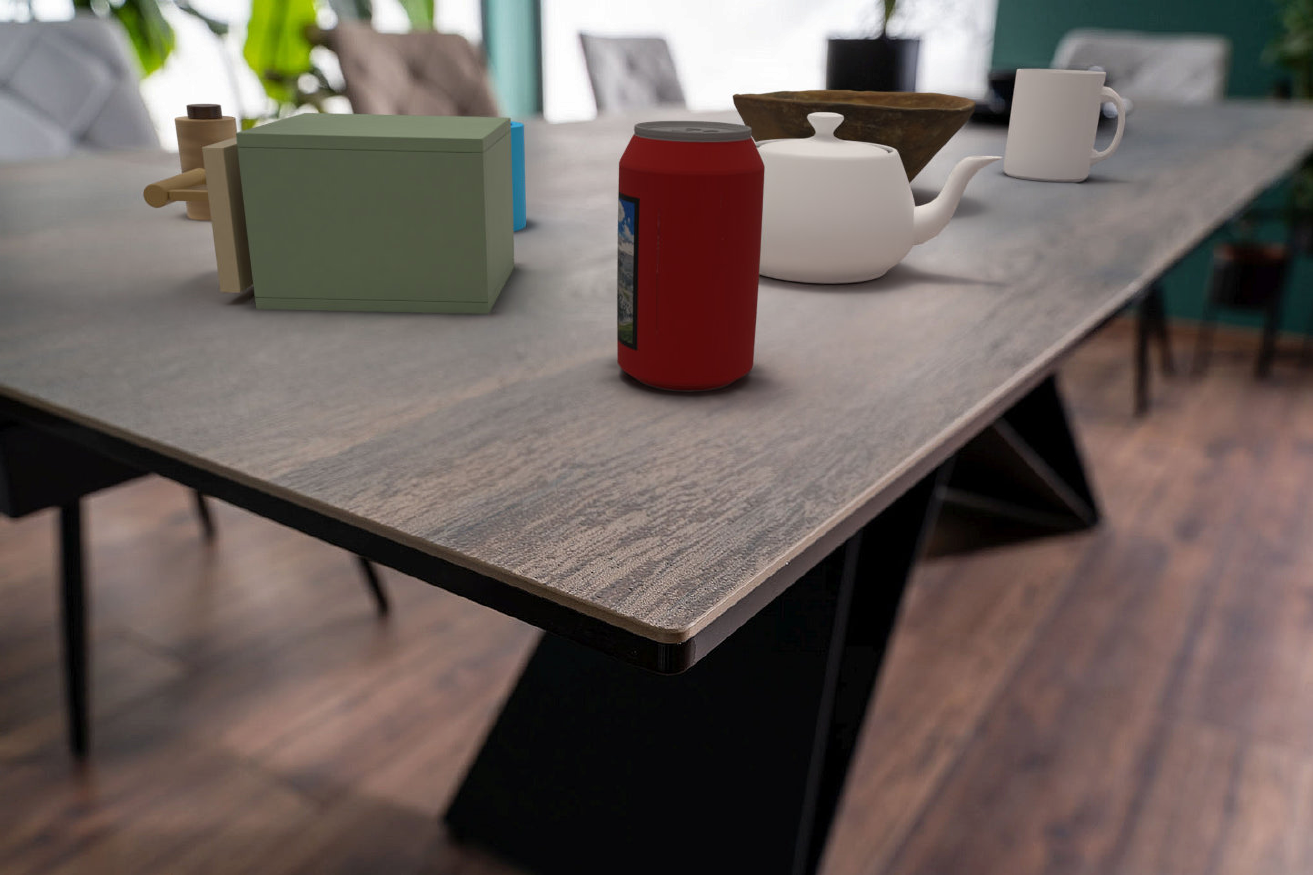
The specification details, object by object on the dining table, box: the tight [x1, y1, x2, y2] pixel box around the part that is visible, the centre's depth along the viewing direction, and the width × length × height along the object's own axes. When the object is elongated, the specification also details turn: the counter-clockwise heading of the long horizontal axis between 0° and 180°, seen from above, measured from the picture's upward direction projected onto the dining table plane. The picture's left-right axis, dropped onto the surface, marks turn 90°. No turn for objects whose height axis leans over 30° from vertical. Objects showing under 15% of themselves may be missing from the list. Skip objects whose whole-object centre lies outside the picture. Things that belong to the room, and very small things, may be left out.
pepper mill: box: [174, 103, 238, 222], centre depth 89 cm, size 5×5×9 cm
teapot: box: [754, 112, 1003, 285], centre depth 74 cm, size 22×14×11 cm, turn 76°
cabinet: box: [236, 112, 515, 315], centre depth 67 cm, size 14×13×10 cm
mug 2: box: [1003, 68, 1126, 183], centre depth 122 cm, size 10×12×12 cm
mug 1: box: [510, 120, 527, 232], centre depth 89 cm, size 12×8×8 cm
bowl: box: [732, 89, 977, 185], centre depth 104 cm, size 22×23×10 cm
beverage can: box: [616, 120, 765, 393], centre depth 51 cm, size 7×7×12 cm
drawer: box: [142, 137, 253, 294], centre depth 67 cm, size 17×11×8 cm, turn 90°
